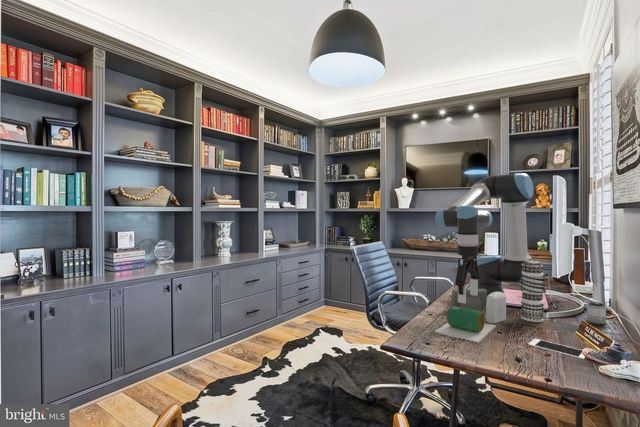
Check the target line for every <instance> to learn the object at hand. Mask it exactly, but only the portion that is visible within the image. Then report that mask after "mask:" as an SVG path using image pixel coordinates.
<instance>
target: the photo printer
mask: <svg viewBox="0 0 640 427" xmlns="http://www.w3.org/2000/svg"><path fill="white" fill-rule="evenodd" d="M504 293H505V292H504ZM504 293H502V292H493V293H491V294H489V295H488V296H487V298H486V303H485V306H486V307H485V320H486V322H487V323H488V324H497V323H500V322H503V321H504V322H505V320H506V319H507V295H506V293H505V294H504Z"/></svg>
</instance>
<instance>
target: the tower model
mask: <svg viewBox="0 0 640 427" xmlns="http://www.w3.org/2000/svg"><path fill="white" fill-rule="evenodd" d="M543 266H544V265H543V264H542V263H541V262H540V261H537V260H532V261H525V262H524V263H523V264H522V274H520V275H521V276H522V277H521V278H520V279H521V281H520V282H521V284H522V285H519V286H520V292H522V293H521V295H522V296H521V301H520V304H521V305H520V307H521V309H520V311H521V312H520V315H521V316H520V318H521V319H522V320H525V321H528V322H532V323H534V322H535V323H542V322H544V317H545V316H544V314H545V312H544V310H545V308H544V306H545V304H544V299H543V297H544V296H543V295H544V293H545V292H544V291H543V290H544V289H545V287H544V286H545V283H544V281H546V279H545V277H546V275H544V270H543V269H544V268H543Z"/></svg>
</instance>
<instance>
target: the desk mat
mask: <svg viewBox="0 0 640 427" xmlns="http://www.w3.org/2000/svg"><path fill="white" fill-rule="evenodd" d="M495 328H496V324H492V323H486V322H484V327H483V330H482V331H479V332H474V331H470V330H466V329H461V328H457V327H452V326H451V325H449V324H448V322H447V323H445V324H444V325H441V326H440V327H439V328H437V329H436V330H434V333H435V334H440V335H443V336H444V335H445V336H447V337H452V338H456V339H459V338H461V339H460V340H463V339H465V340H464V341H468V340H469V342H472V341H473V342H472V343H476V342H477V343H476V344H479V343H480V342H481V341H482V340H483V339H484V338H485V337H487V336H488V335H489V334H490V333H491V332H492V331H493V330H494V329H495Z"/></svg>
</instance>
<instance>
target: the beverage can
mask: <svg viewBox="0 0 640 427" xmlns="http://www.w3.org/2000/svg"><path fill="white" fill-rule="evenodd" d="M446 322H447V323H448V324H449V325H451V326H452V327H457V328H461V329H466V330H470V331H474V332H479V331H482V330H483V327H484V323H485V315H484V313H481V312H480V311H477V310H471V309H466V308H461V307H455V306H453V307H450V306H449V308H448V310H447V314H446Z"/></svg>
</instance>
